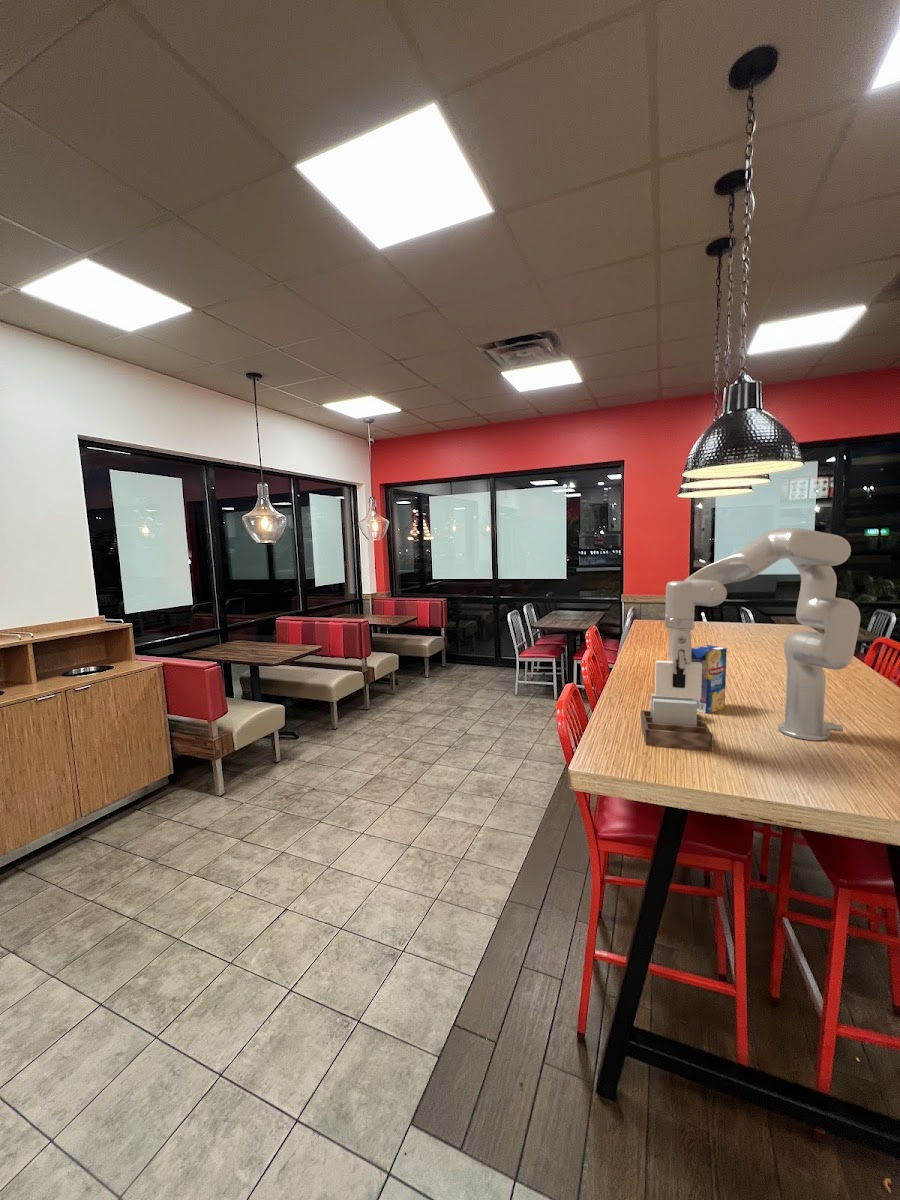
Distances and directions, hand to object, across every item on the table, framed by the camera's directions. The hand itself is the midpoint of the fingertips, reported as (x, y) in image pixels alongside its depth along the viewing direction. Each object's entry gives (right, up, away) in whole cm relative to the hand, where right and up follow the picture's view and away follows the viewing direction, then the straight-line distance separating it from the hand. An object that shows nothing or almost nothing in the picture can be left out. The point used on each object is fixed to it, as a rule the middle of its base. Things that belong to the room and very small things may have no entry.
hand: (677, 685), depth 139 cm
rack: (+2, -17, +7) cm, 19 cm away
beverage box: (+26, -14, +32) cm, 44 cm away
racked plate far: (+4, -16, +13) cm, 21 cm away
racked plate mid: (+2, -17, +7) cm, 19 cm away
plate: (0, -3, 0) cm, 3 cm away
